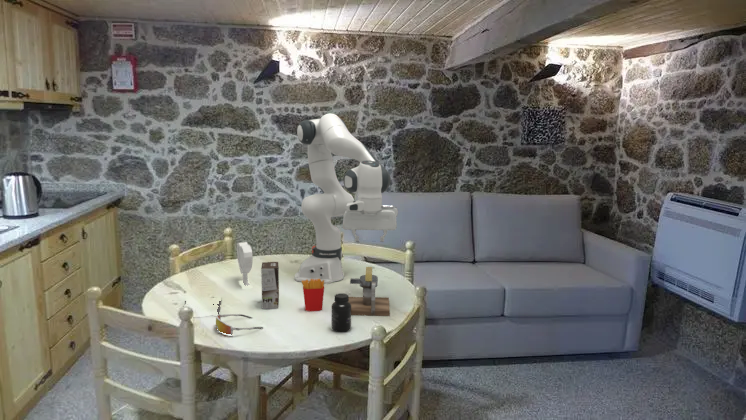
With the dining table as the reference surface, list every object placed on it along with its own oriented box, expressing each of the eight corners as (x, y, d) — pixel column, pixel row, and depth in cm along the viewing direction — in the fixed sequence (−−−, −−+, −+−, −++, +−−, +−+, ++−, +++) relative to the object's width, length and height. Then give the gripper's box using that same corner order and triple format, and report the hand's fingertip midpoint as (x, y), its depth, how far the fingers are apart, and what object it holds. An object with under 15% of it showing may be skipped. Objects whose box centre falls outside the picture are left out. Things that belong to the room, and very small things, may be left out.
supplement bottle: (353, 331, 170) (353, 298, 168) (333, 333, 168) (333, 300, 166) (348, 323, 177) (348, 291, 174) (329, 325, 175) (329, 293, 172)
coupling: (377, 289, 185) (377, 274, 184) (349, 288, 185) (349, 273, 184) (377, 281, 194) (377, 266, 193) (350, 281, 194) (351, 266, 193)
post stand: (389, 316, 184) (390, 285, 182) (346, 315, 184) (346, 284, 182) (388, 302, 198) (389, 273, 196) (348, 301, 198) (348, 272, 196)
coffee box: (278, 308, 189) (278, 267, 186) (261, 309, 188) (260, 268, 185) (279, 300, 198) (278, 261, 195) (262, 300, 197) (262, 261, 194)
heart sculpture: (236, 279, 222) (234, 240, 218) (247, 278, 224) (246, 239, 221) (243, 290, 208) (241, 249, 205) (255, 289, 210) (254, 248, 207)
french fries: (324, 307, 192) (324, 277, 190) (324, 310, 188) (324, 280, 186) (301, 307, 190) (301, 277, 188) (301, 311, 187) (301, 281, 184)
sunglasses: (209, 325, 173) (210, 311, 173) (250, 322, 182) (251, 309, 182) (222, 340, 162) (224, 325, 161) (265, 336, 171) (267, 322, 170)
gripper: (397, 204, 187) (396, 239, 189) (343, 203, 187) (343, 239, 189) (398, 206, 181) (397, 243, 183) (342, 206, 181) (342, 243, 183)
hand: (369, 241), depth 186 cm, fingers open, 8 cm apart
